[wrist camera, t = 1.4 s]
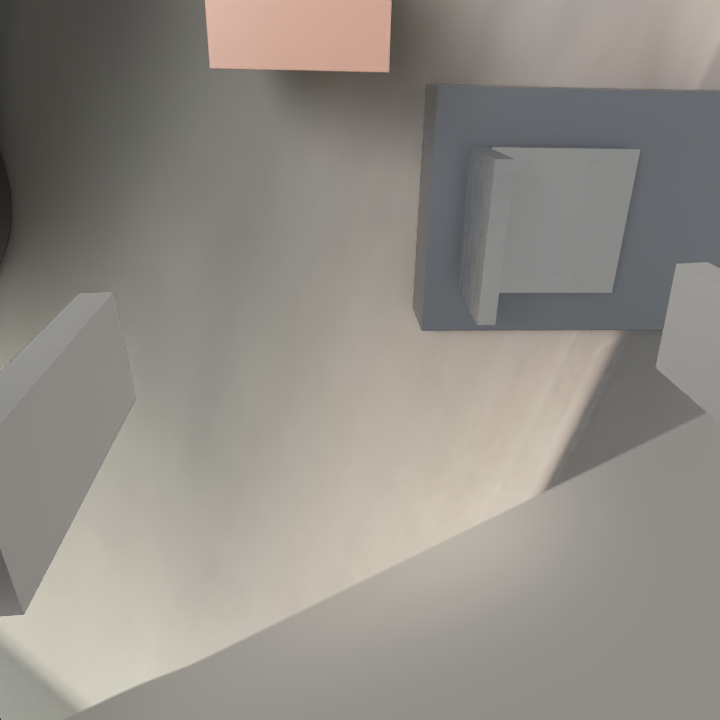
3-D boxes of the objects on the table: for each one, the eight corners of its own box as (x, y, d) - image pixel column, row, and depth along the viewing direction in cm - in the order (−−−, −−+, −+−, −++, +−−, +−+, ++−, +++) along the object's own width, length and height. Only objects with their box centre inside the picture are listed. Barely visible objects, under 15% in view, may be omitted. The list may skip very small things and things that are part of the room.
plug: (246, 69, 31) (209, 68, 21) (239, -51, 29) (196, -117, 19) (367, 72, 31) (388, 72, 21) (369, -46, 29) (395, -109, 19)
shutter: (454, 287, 32) (477, 325, 27) (466, 144, 29) (495, 158, 24) (605, 288, 32) (653, 324, 28) (632, 147, 30) (691, 161, 25)
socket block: (412, 308, 36) (421, 330, 33) (426, 84, 31) (438, 86, 28) (740, 307, 38) (779, 329, 34) (803, 92, 33) (855, 94, 29)
